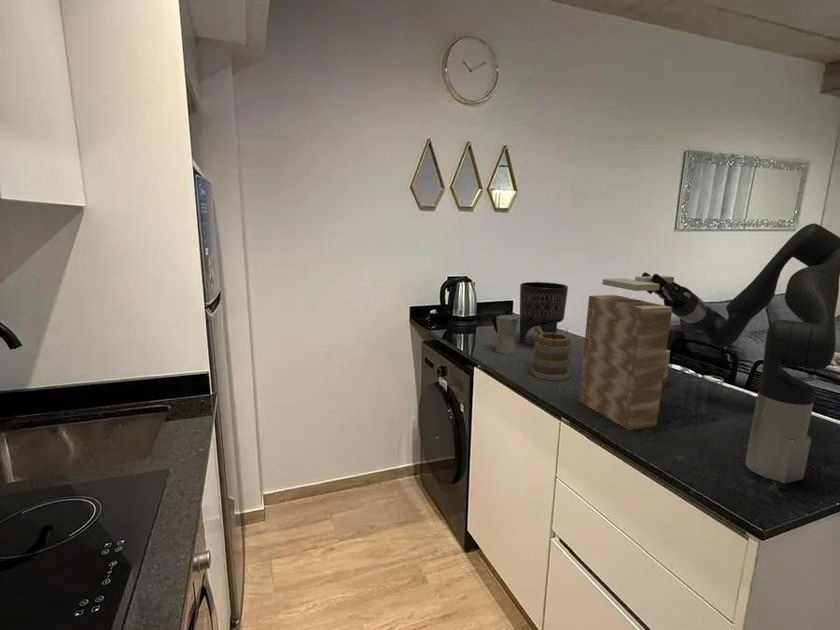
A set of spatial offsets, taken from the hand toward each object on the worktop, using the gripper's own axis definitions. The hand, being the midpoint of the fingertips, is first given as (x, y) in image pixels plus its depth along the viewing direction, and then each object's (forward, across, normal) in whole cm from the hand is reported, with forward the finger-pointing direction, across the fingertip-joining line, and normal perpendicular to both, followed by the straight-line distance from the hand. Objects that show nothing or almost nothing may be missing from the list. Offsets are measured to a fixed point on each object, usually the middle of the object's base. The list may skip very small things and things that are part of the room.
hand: (648, 276), depth 122 cm
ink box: (-41, -17, +21) cm, 49 cm away
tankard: (-16, -37, +35) cm, 54 cm away
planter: (-32, -68, +26) cm, 80 cm away
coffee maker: (-15, -64, +36) cm, 75 cm away
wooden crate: (-14, 0, +36) cm, 39 cm away
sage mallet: (0, 0, +3) cm, 3 cm away
